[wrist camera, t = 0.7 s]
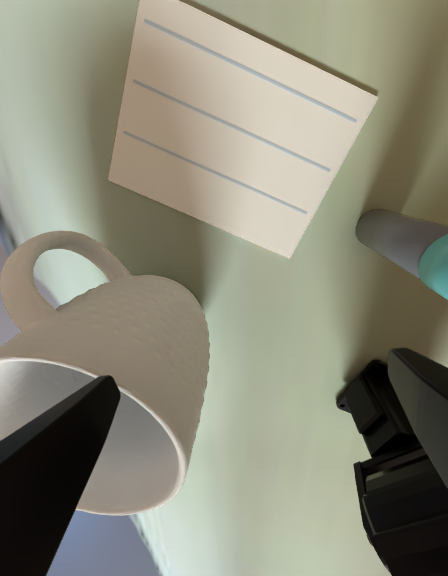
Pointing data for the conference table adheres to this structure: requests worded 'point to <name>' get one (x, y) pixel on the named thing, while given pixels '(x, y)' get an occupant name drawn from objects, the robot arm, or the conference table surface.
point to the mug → (109, 369)
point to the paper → (230, 126)
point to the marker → (409, 245)
